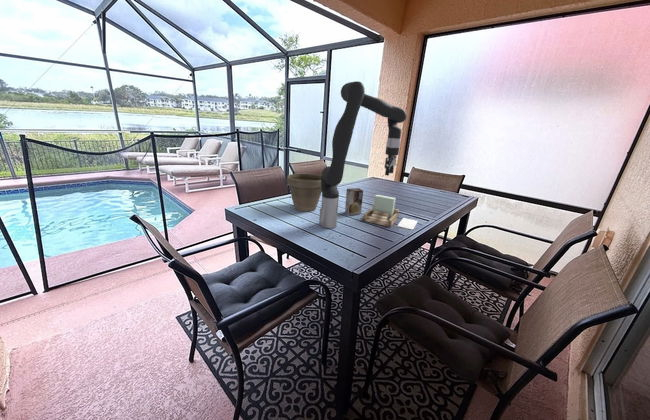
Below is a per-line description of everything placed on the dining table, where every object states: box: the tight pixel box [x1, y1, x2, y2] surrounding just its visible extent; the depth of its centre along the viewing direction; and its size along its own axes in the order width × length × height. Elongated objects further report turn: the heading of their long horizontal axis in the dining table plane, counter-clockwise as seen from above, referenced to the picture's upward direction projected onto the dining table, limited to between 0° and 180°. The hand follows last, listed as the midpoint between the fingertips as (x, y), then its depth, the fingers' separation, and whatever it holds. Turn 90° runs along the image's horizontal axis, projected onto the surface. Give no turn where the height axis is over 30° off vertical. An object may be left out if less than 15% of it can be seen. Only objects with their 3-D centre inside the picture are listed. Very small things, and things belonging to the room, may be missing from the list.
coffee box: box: [344, 187, 364, 216], centre depth 162 cm, size 9×6×16 cm
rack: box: [362, 203, 400, 228], centre depth 156 cm, size 17×17×6 cm
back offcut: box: [373, 211, 389, 221], centre depth 155 cm, size 9×3×5 cm, turn 61°
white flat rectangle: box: [396, 217, 418, 231], centre depth 152 cm, size 9×16×1 cm, turn 151°
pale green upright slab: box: [373, 194, 397, 221], centre depth 157 cm, size 12×4×14 cm, turn 61°
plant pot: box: [286, 172, 322, 212], centre depth 166 cm, size 25×25×22 cm
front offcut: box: [371, 214, 387, 220], centre depth 152 cm, size 9×3×4 cm, turn 60°
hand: (389, 174), depth 150 cm, fingers open, 8 cm apart
